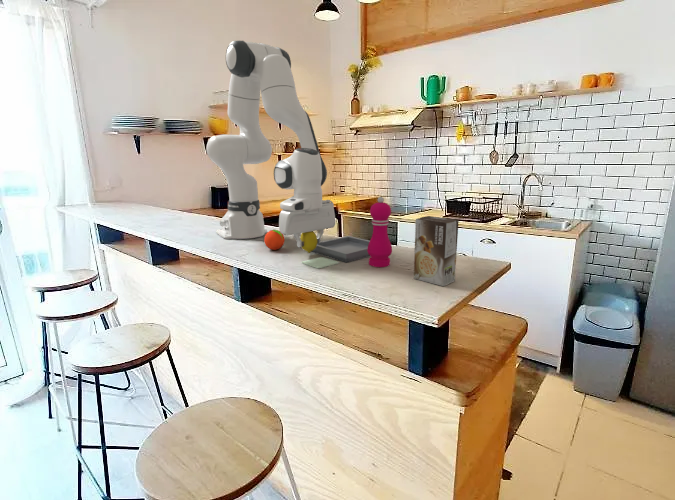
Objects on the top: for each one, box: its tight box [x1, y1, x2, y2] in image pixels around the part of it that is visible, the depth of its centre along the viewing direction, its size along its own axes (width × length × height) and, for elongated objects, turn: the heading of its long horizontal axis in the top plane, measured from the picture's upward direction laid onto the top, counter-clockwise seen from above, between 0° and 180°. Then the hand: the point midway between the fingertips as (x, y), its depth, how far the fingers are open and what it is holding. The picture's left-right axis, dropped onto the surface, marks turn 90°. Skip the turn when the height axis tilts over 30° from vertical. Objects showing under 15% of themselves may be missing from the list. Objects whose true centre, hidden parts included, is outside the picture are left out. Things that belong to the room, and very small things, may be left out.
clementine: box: [263, 229, 286, 251], centre depth 128 cm, size 8×7×7 cm
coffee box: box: [413, 215, 460, 287], centre depth 96 cm, size 9×6×16 cm
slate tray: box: [310, 235, 371, 263], centre depth 125 cm, size 18×18×3 cm
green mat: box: [301, 256, 340, 269], centre depth 113 cm, size 8×8×1 cm
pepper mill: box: [367, 196, 393, 268], centre depth 109 cm, size 7×7×20 cm
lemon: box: [300, 231, 317, 254], centre depth 121 cm, size 6×6×8 cm
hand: (309, 244), depth 121 cm, fingers closed on lemon, 5 cm apart
